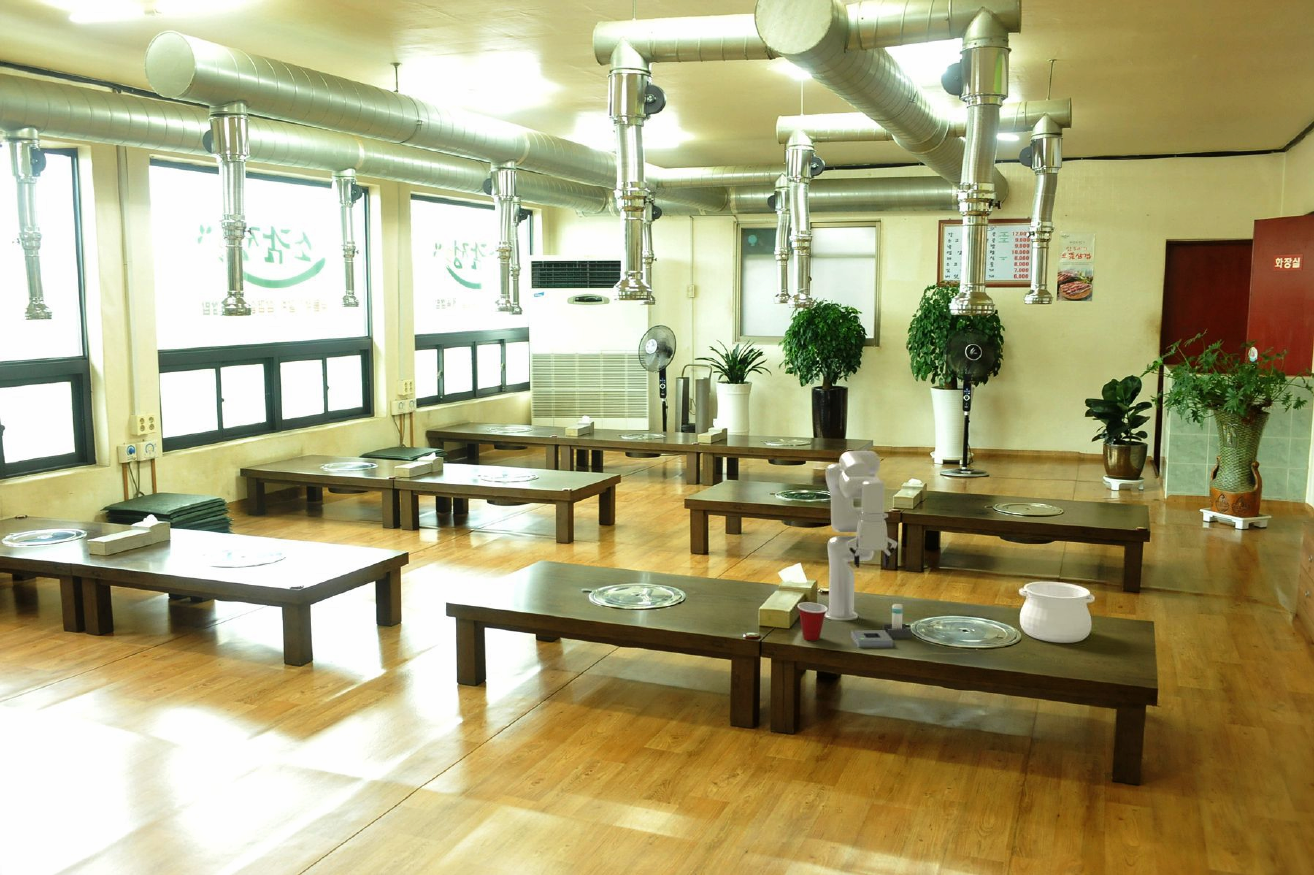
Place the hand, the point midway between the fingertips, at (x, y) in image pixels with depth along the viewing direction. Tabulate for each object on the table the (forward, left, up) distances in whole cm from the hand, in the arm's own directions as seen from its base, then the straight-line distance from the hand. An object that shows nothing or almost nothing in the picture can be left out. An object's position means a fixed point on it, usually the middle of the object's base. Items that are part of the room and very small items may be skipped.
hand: (871, 566), depth 355 cm
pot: (-20, +73, -31) cm, 81 cm away
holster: (-20, +15, -31) cm, 39 cm away
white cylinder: (-20, +15, -30) cm, 39 cm away
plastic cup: (-19, -16, -31) cm, 40 cm away
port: (-12, +4, -31) cm, 33 cm away
